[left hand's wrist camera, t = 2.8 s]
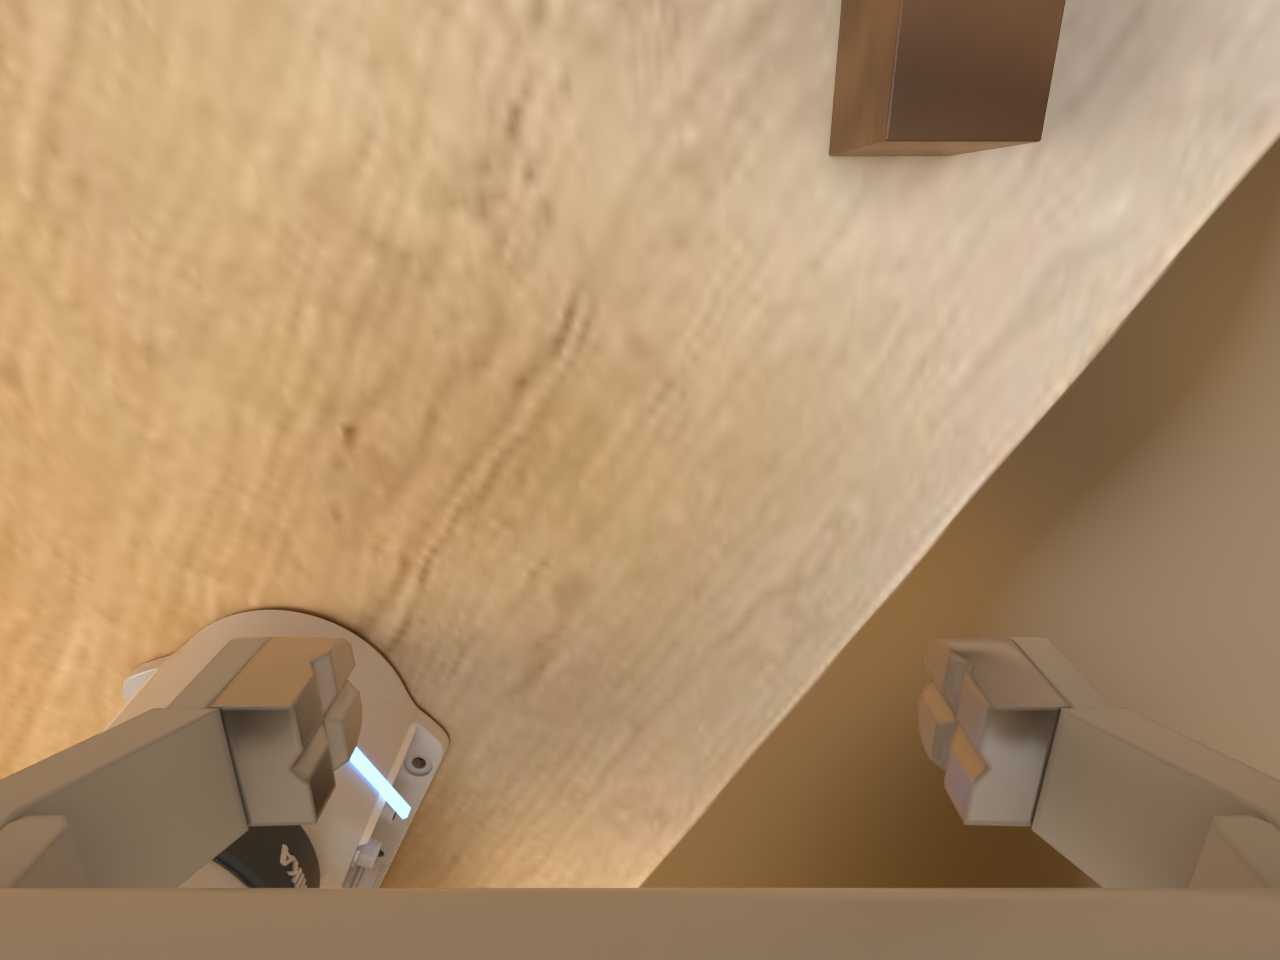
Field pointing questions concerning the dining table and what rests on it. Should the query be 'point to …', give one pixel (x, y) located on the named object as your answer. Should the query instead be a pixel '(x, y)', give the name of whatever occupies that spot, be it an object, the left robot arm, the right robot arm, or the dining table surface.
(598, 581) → the dining table surface
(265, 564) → the dining table surface
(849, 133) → the bar
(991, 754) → the left robot arm
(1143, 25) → the dining table surface
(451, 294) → the dining table surface
